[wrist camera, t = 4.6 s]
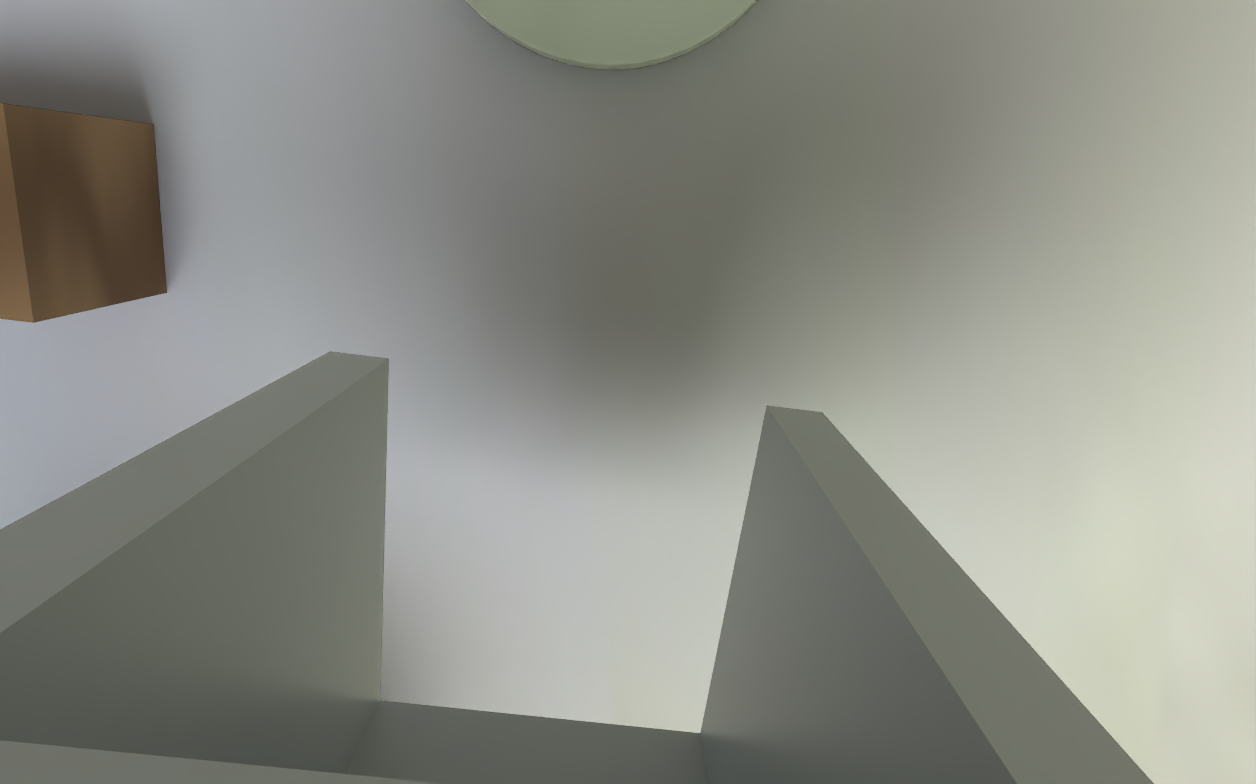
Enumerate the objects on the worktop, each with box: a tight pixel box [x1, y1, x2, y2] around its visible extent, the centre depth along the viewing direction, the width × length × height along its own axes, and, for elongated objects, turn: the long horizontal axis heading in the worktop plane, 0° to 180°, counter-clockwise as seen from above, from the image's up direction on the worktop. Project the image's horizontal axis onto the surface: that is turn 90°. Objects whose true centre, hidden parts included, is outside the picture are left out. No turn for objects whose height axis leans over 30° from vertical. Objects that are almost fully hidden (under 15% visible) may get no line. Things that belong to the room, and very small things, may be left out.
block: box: [0, 103, 167, 322], centre depth 14 cm, size 4×4×4 cm
